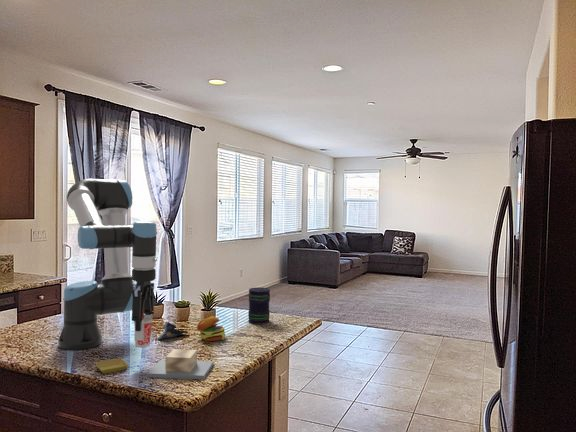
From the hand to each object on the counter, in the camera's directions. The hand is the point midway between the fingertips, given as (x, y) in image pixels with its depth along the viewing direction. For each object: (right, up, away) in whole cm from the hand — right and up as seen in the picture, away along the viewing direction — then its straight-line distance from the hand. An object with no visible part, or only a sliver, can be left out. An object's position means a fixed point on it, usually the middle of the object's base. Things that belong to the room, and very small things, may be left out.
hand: (142, 336), depth 156 cm
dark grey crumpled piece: (+1, -9, +34) cm, 35 cm away
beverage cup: (0, -3, 0) cm, 3 cm away
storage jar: (+35, -9, +60) cm, 70 cm away
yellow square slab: (-9, -10, -4) cm, 14 cm away
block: (+14, -9, -5) cm, 17 cm away
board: (+14, -10, -5) cm, 18 cm away
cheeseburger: (+18, -9, +32) cm, 37 cm away
